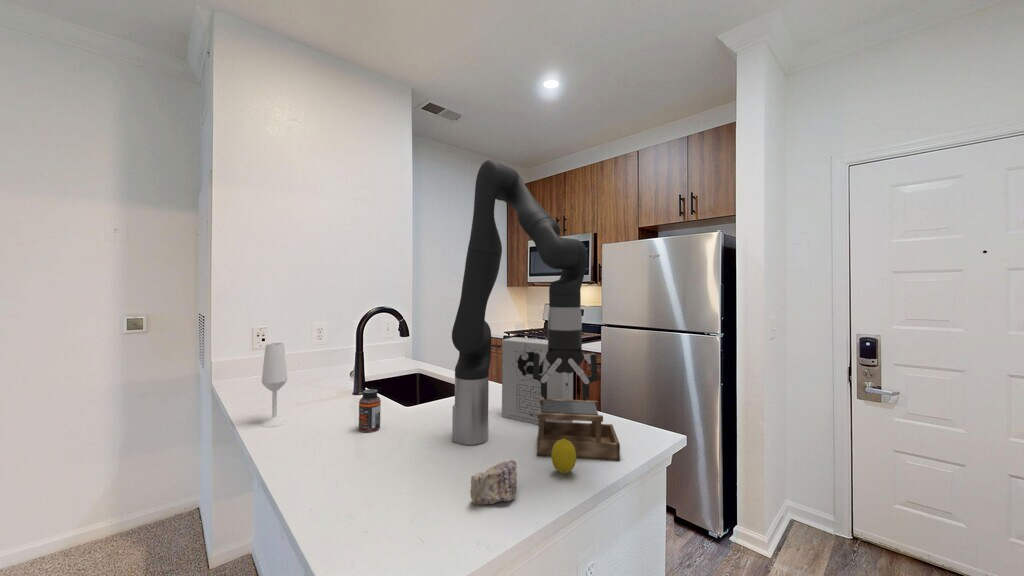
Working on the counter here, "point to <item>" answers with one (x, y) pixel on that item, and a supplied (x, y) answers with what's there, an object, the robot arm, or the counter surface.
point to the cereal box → (529, 380)
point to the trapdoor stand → (578, 434)
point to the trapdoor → (569, 407)
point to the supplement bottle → (369, 411)
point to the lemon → (563, 455)
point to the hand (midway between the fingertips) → (564, 399)
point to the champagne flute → (274, 377)
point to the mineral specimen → (495, 484)
